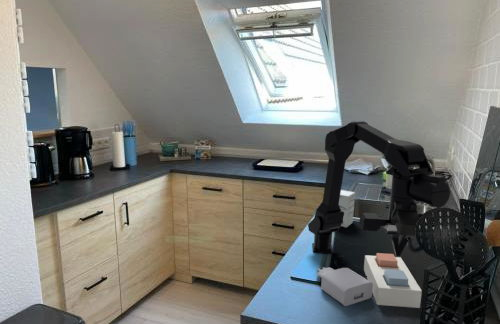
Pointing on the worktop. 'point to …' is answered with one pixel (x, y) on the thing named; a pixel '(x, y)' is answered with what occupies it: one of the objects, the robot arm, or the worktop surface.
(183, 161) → the worktop surface
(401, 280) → the slate key
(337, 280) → the charger
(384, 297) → the key console
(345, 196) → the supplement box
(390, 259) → the brick key
